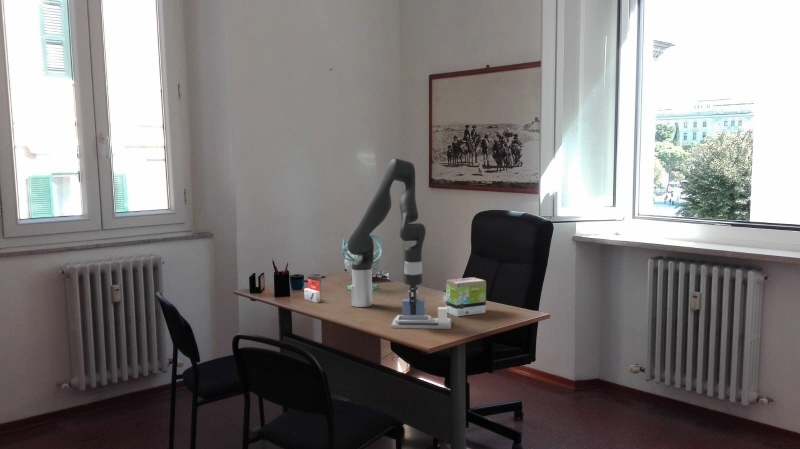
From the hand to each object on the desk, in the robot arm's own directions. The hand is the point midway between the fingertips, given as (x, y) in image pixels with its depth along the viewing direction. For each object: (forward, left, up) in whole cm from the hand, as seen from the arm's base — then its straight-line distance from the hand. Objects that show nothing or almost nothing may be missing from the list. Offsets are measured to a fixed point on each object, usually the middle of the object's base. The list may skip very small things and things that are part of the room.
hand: (413, 313), depth 270 cm
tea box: (+21, +21, -5) cm, 30 cm away
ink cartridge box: (-53, +42, -5) cm, 67 cm away
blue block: (0, 0, -1) cm, 1 cm away
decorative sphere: (-37, +96, -5) cm, 103 cm away
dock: (+3, 0, -5) cm, 6 cm away
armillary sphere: (-33, +72, -5) cm, 79 cm away
